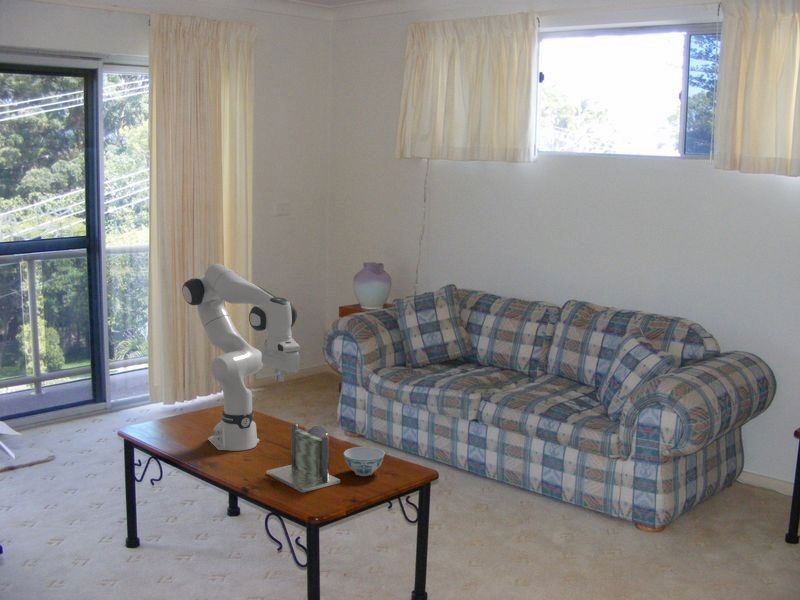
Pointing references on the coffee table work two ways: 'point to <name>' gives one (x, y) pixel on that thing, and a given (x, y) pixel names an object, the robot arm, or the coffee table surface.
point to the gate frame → (300, 477)
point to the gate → (309, 453)
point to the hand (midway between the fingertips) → (279, 380)
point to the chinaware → (364, 459)
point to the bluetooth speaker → (317, 431)
